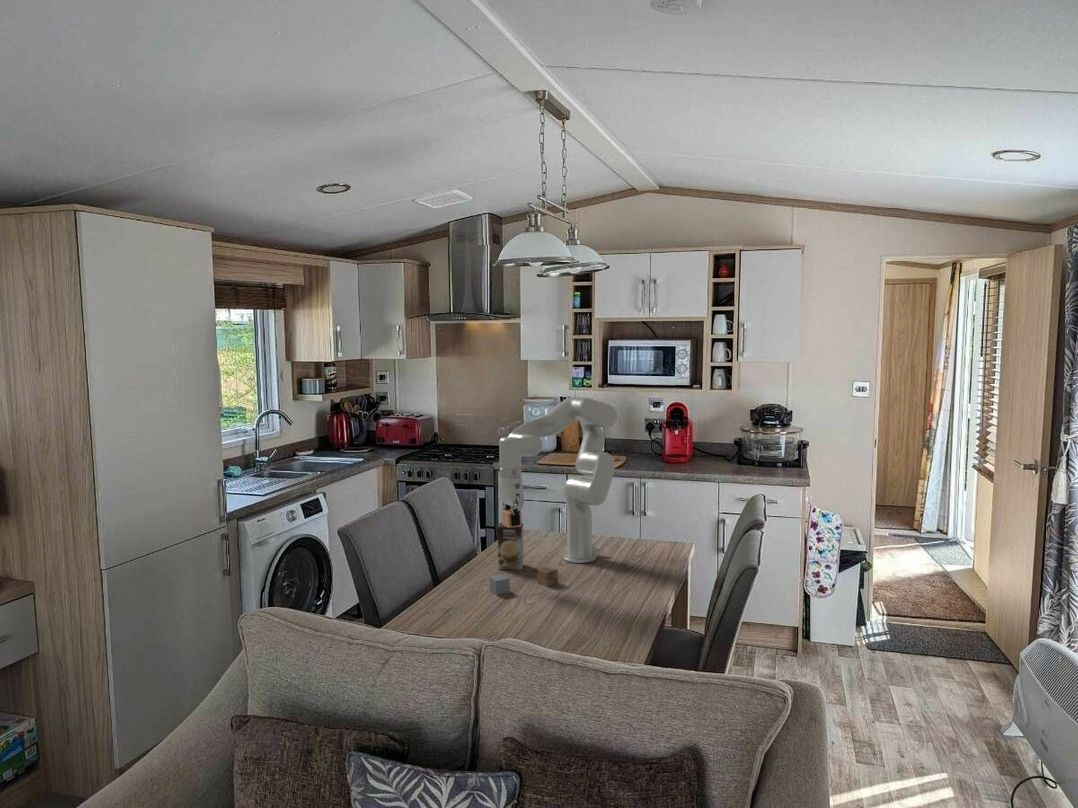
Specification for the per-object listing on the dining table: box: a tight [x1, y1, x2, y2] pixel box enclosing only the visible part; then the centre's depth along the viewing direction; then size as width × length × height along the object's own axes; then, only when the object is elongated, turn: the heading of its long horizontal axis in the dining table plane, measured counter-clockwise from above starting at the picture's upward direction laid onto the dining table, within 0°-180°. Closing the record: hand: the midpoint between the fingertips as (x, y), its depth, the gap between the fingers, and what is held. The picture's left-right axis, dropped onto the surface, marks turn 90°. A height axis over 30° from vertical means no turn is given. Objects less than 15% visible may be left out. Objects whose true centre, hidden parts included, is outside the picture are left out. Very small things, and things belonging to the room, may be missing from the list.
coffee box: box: [497, 522, 524, 570], centre depth 280 cm, size 9×6×16 cm
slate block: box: [489, 573, 511, 596], centre depth 254 cm, size 5×5×5 cm
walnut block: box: [537, 565, 559, 587], centre depth 262 cm, size 5×5×5 cm
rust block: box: [501, 508, 522, 528], centre depth 263 cm, size 5×5×5 cm
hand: (511, 523), depth 263 cm, fingers closed on rust block, 5 cm apart
